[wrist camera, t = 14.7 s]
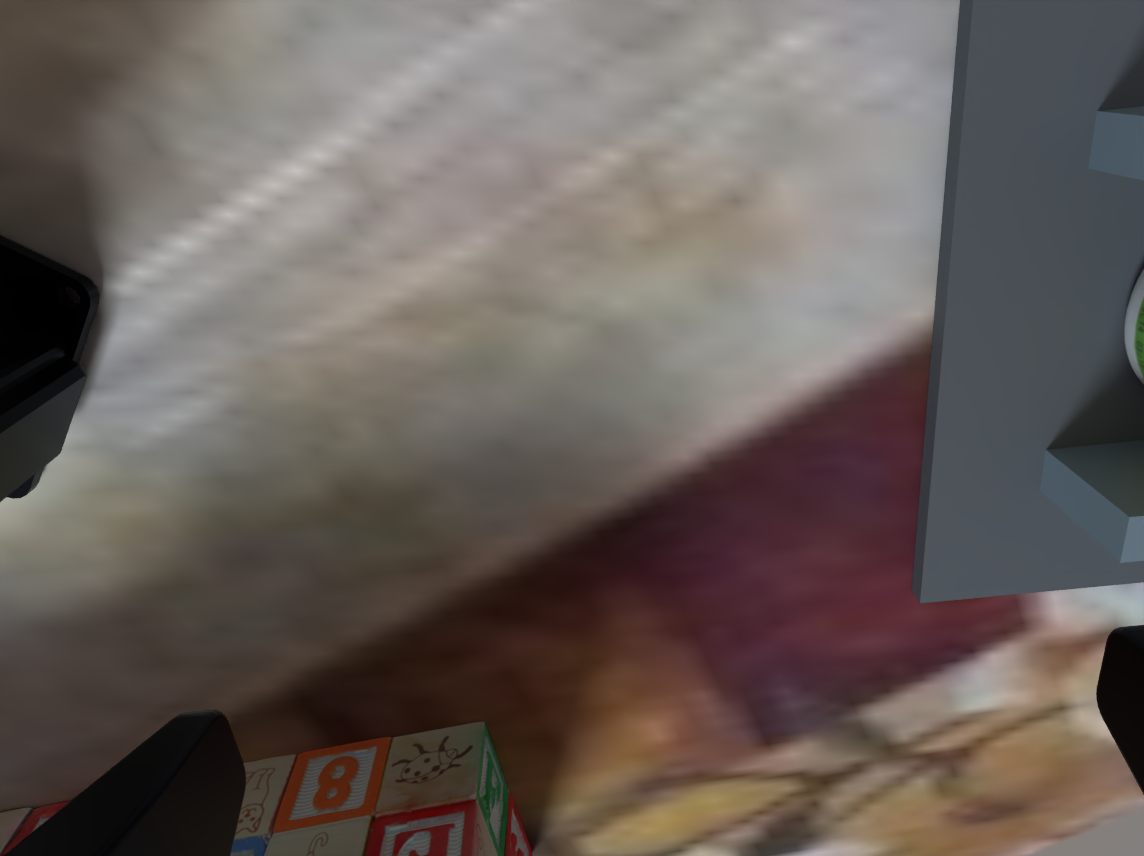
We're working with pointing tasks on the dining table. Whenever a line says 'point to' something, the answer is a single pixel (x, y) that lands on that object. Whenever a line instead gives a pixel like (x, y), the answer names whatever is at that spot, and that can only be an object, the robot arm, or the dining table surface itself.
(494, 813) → the stack of blocks
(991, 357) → the notch holder
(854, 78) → the dining table surface
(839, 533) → the dining table surface
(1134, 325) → the supplement bottle
